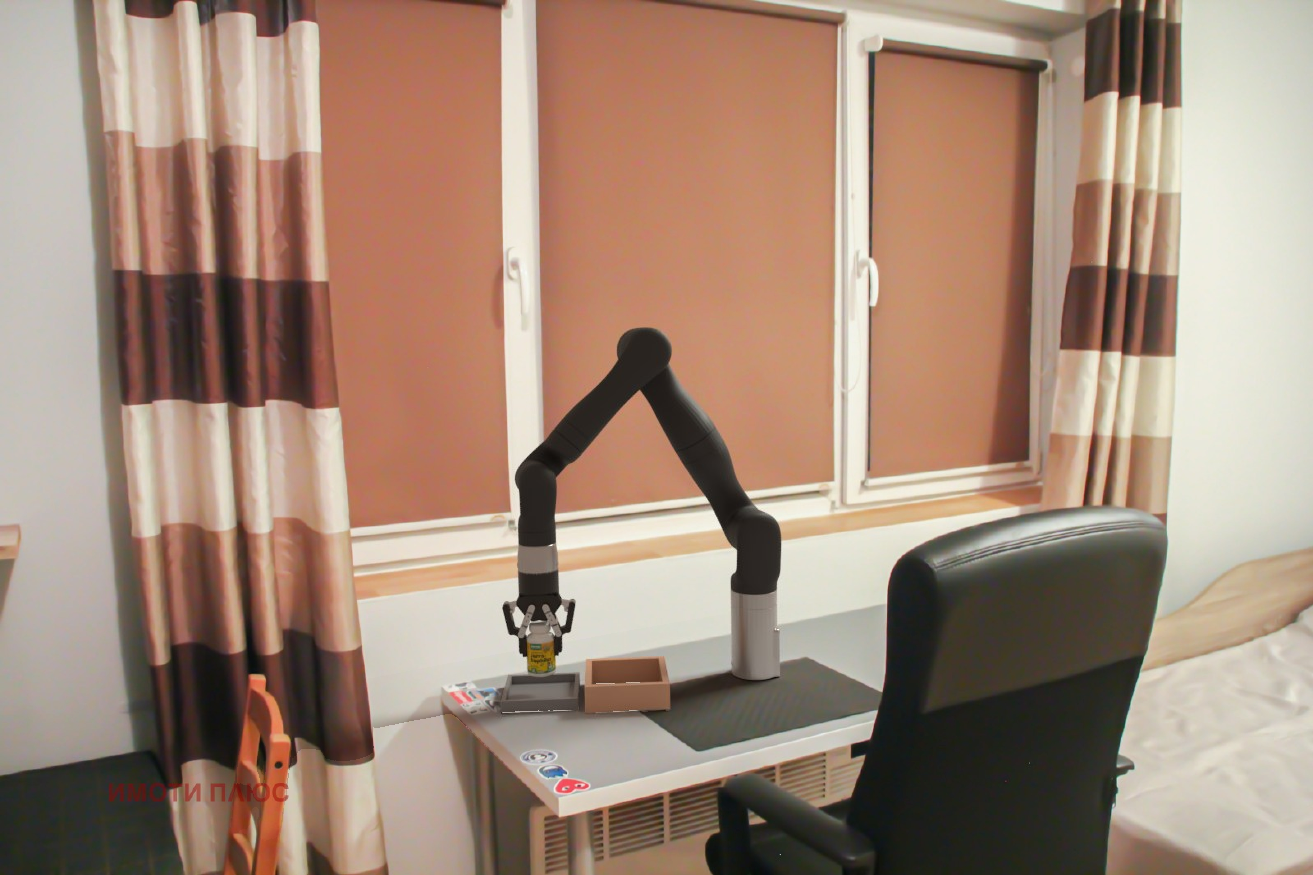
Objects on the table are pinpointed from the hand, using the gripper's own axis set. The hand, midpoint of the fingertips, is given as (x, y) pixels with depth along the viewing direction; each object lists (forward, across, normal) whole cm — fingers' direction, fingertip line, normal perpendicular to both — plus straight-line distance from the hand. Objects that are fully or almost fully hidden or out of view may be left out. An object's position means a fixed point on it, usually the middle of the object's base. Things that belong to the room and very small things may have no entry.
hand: (540, 654), depth 180 cm
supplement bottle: (+4, 0, 0) cm, 4 cm away
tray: (+8, 0, 0) cm, 8 cm away
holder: (+8, -16, +1) cm, 18 cm away
